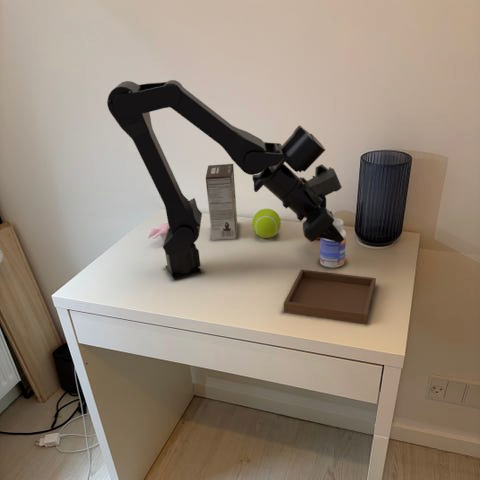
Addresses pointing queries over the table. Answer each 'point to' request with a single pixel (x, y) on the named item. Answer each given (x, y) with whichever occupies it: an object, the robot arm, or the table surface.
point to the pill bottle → (333, 248)
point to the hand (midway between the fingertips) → (340, 234)
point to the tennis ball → (266, 223)
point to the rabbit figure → (159, 231)
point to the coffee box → (222, 201)
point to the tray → (331, 296)
